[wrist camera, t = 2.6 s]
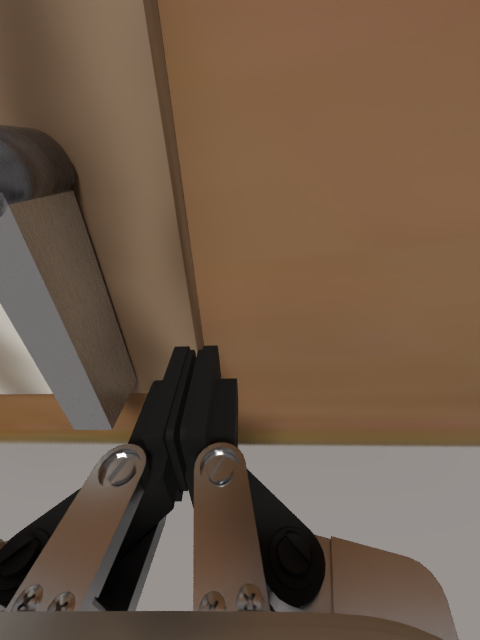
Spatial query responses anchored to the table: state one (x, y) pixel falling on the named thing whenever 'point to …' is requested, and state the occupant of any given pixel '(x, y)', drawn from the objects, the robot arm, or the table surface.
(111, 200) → the door board
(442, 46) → the table surface
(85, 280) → the bar
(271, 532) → the robot arm
